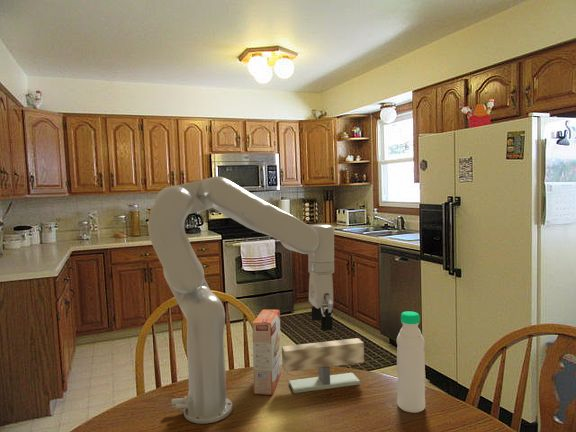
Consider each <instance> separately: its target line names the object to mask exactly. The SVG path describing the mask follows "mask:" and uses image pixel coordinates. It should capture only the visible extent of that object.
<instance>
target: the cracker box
mask: <svg viewBox="0 0 576 432" xmlns="http://www.w3.org/2000/svg"><path fill="white" fill-rule="evenodd" d="M252 361H253V365H252V366H253V367H252V369H253V394H254V395H265V396H266V395H267V396H273V395H274V393H275V389H276V387H277V384H278V382H279V380H280V378H281V376H282V375H281V374H282V370H281V369H282V367H281V366H282V350H281V311H280V309H261V311H260V313H259V314H258V315H257V316H256V317H255V319H254V320H253V322H252Z"/></svg>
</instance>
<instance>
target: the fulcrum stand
mask: <svg viewBox="0 0 576 432" xmlns="http://www.w3.org/2000/svg"><path fill="white" fill-rule="evenodd" d="M330 368H331V367H323V368H317V369H318V376H315V377H307V378H300V379H299V378H298V379H292V380H291V379H290V380H288V383H289V386H290V388H291V390H292V393H293V394H298V393H304V392H311V391H313V392H314V391H319V390H320V391H321V390H326V389H334V388H343V387H344V388H345V387H350V386H357V385H361V381H360V379H359V378H358V377H357V375H355V374H354V373H353V372H348V373H347V372H345V373H338V374H331V371H330V370H331V369H330Z"/></svg>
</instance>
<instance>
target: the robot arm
mask: <svg viewBox="0 0 576 432" xmlns="http://www.w3.org/2000/svg"><path fill="white" fill-rule="evenodd" d="M154 198H155V199H154V205H153V206H152V208H151V210H150V213H149V216H148V223H147V230H148V235H149V240H150V242H151V244H152V247H153V250H154V251H155V253H156V255H157V258H158V260H159V263H160V264H161V267H162V268H163V269H162V270H163V271H162V274H163V276H164V279H165V281H166V283H167V285H168V287H169V289H170V291H171V293H172V294H173V297H174V299H175V301H176V303H177V305H178V306H179V308H180V310H181V313H182V314H183V315H184V318H185V319H186V327H187V328H186V330H187V331H186V354H187V355H186V356H187V372H188V374H187V375H188V376H187V379H188V392H187V395H184V396H183V397H180V398H179V397H177V398H172V399H171V408H173V407H175V410H176V411H180V410H183V416H184V418H185V419H186V420H187V421H189V422H191V423H194V424H201V425H202V424H212V423H216V422H219V421H221V420H223V419H225V418H227V417H228V416H229V415H230V414H231V413H232V411H233V402H232V401H231V400H230V399H229V398H227V385H226V383H227V382H226V380H227V379H226V359H225V356H226V355H225V327H226V326H225V325H226V312H225V306H224V305H223V301H222V300H220V298H219V297H218V296H217V295H216V294H215V293H214V292H212V290H211V289H210V287H209V284H208V283H207V281H206V278H205V271H204V267H203V264H202V263H201V261H200V260H199V259H198V257H197V254H196V253H195V250H194V249H193V247H192V245H191V242H190V240H189V238H188V235H187V233H186V229H185V222H186V220H187V218H188V216H189V215H191V214H195V213H199V212H203V211H206V210H210V209H213V210H215V211H217V212H219V213H221V214H223V215H225V216H227V217H228V218H229V219H232V220H234V221H235V222H237V223H239V224H240V225H243V226H244V227H245V228H247V229H250V230H253V231H254V232H257V233H260V234H263V235H267V236H269V237H271V238H274V239H276V240H277V241H280V243H281V245H282V246H283V247H284V248H285V249H287V250H289V251H293V252H294V253H295V252H297V253H299V254H301V255H302V254H303V255H307V256H308V258H307V259H308V266H307V267H308V274H309V279H308V281H309V282H308V302H309V303H310V304H311V320H312V321H315V322H316V321H320V330H321V331H323V332H325V331H333V310H334V309H333V307H334V287H333V286H334V285H333V274H334V273H335V230H334V229H335V228H334V227H333V226H332V225H330V224H313V225H309V224H307V222H305V221H302V220H301V219H299V218H298V217H295V216H294V215H292V214H290V213H288V212H286V211H284V210H282V209H280V208H279V207H277V206H275V205H273V204H271V203H269V202H267V201H265V200H264V199H262V198H260V197H258V196H256V195H255V194H253V193H252V192H250V191H248V190H246V189H245V188H243V187H241V186H240V185H238V184H236V183H235V182H233V181H231V180H230V179H227V178H226V177H223V176H217V175H216V176H212V177H207V178H204V179H200V180H197V181H192V182H187V183H182V184H177V185H173V186H168V187H167V186H166V187H164V188H162V189H161V190H160V191H158V193H157V194H156V196H155V197H154Z"/></svg>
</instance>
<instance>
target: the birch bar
mask: <svg viewBox="0 0 576 432" xmlns="http://www.w3.org/2000/svg"><path fill="white" fill-rule="evenodd" d="M364 349H365V345H364V341H362V340H361V339H360V338H359V337H358V338H357V337H355V338H347V339H339V340H330V341H329V340H328V341H320V342H311V343H302V344H292V345H283V346H281V366H282V367H281V368H282V369H283V371H284V373H289V372H296V371H304V370H312V369H318V368H323V367H330V368H331V367H337V366H344V365H354V364H360V363H364V362H365V350H364Z"/></svg>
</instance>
